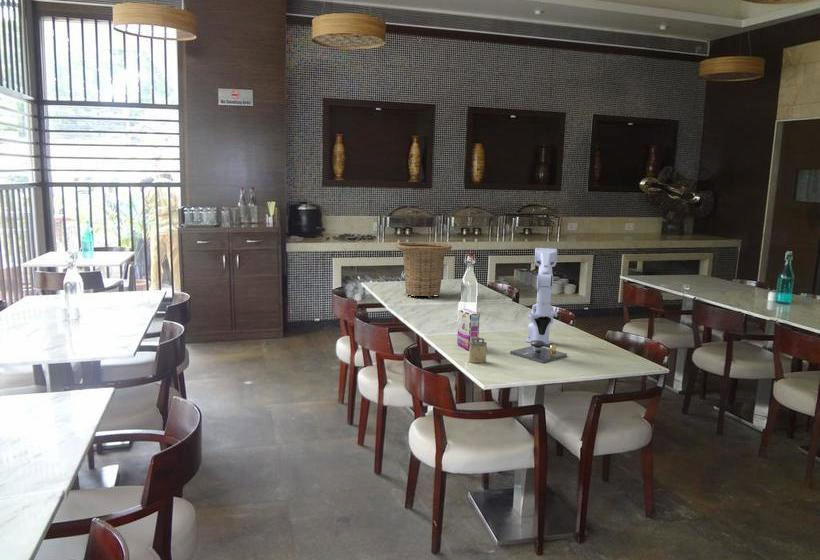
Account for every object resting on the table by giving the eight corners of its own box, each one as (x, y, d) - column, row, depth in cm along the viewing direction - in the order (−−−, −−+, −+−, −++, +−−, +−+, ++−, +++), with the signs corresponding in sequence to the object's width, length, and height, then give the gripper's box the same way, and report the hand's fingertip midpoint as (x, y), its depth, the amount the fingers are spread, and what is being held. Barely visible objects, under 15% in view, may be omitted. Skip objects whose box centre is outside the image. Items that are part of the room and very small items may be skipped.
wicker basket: (425, 303, 372) (427, 248, 367) (384, 295, 395) (385, 243, 390) (460, 296, 398) (463, 245, 393) (419, 289, 421) (421, 240, 416)
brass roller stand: (527, 349, 266) (527, 341, 265) (534, 347, 270) (535, 339, 269) (551, 355, 258) (552, 347, 257) (558, 352, 262) (559, 344, 262)
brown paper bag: (484, 360, 254) (485, 336, 253) (487, 363, 250) (488, 339, 249) (467, 360, 253) (468, 337, 252) (470, 363, 249) (471, 339, 248)
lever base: (510, 353, 265) (510, 345, 265) (534, 347, 276) (535, 340, 276) (542, 363, 252) (542, 354, 252) (566, 356, 264) (567, 348, 263)
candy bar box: (478, 350, 270) (480, 313, 267) (468, 351, 268) (470, 314, 265) (466, 344, 280) (468, 308, 277) (456, 344, 278) (458, 309, 275)
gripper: (537, 305, 250) (535, 338, 253) (563, 303, 258) (561, 334, 260) (525, 302, 256) (523, 334, 259) (551, 300, 264) (549, 331, 266)
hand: (541, 334), depth 260 cm, fingers closed
